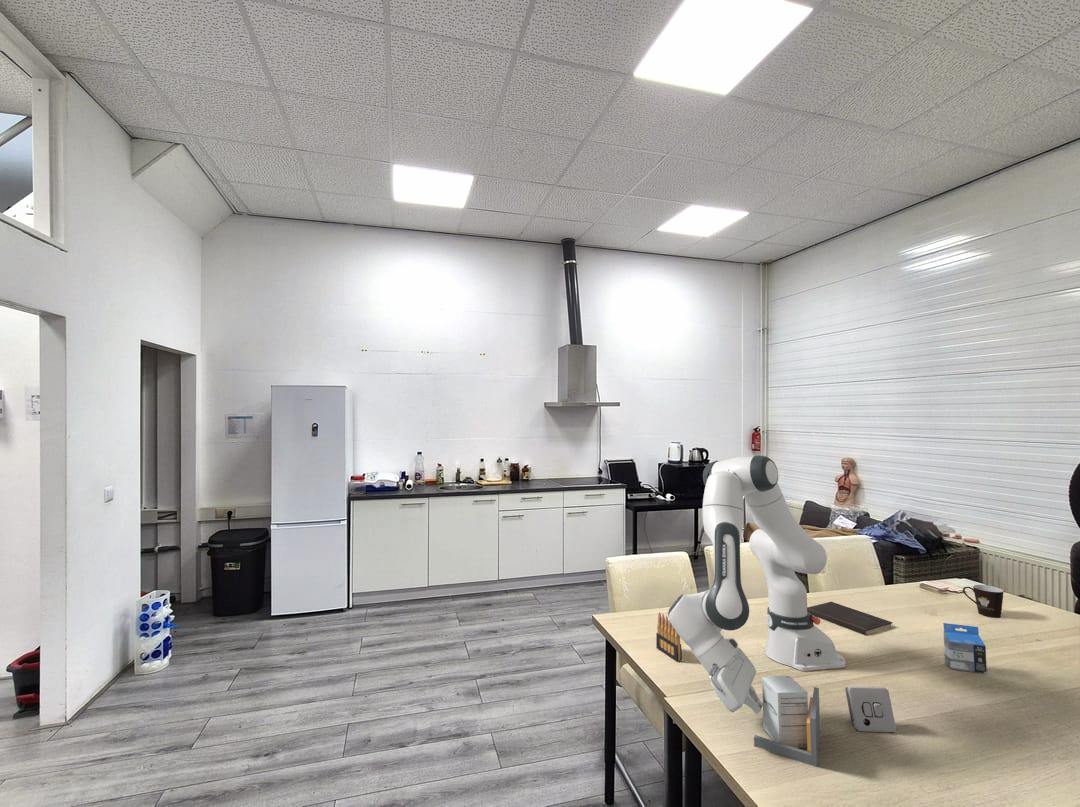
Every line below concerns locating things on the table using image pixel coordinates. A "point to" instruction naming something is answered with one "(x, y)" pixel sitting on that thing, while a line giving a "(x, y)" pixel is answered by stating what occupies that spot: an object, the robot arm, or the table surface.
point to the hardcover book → (849, 618)
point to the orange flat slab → (809, 727)
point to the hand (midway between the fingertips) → (759, 709)
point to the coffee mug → (987, 600)
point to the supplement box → (785, 710)
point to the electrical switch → (870, 709)
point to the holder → (795, 752)
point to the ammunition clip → (668, 639)
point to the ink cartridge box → (964, 649)
